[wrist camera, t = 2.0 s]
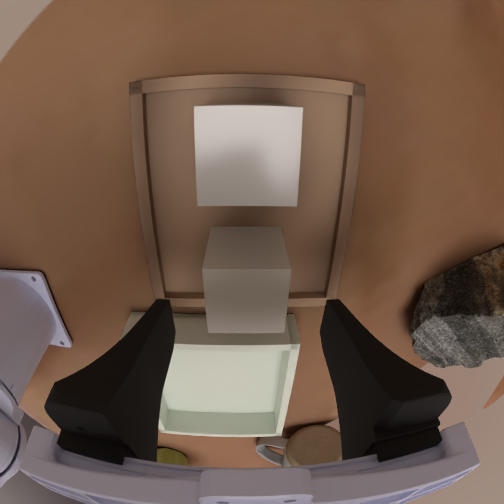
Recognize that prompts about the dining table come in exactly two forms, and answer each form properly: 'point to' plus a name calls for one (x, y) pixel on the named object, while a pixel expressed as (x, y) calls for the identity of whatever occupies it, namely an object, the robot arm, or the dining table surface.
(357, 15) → the dining table surface
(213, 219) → the wooden tray
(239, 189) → the stone
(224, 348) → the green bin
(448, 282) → the rock
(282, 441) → the ceramic mug
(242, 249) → the stone
